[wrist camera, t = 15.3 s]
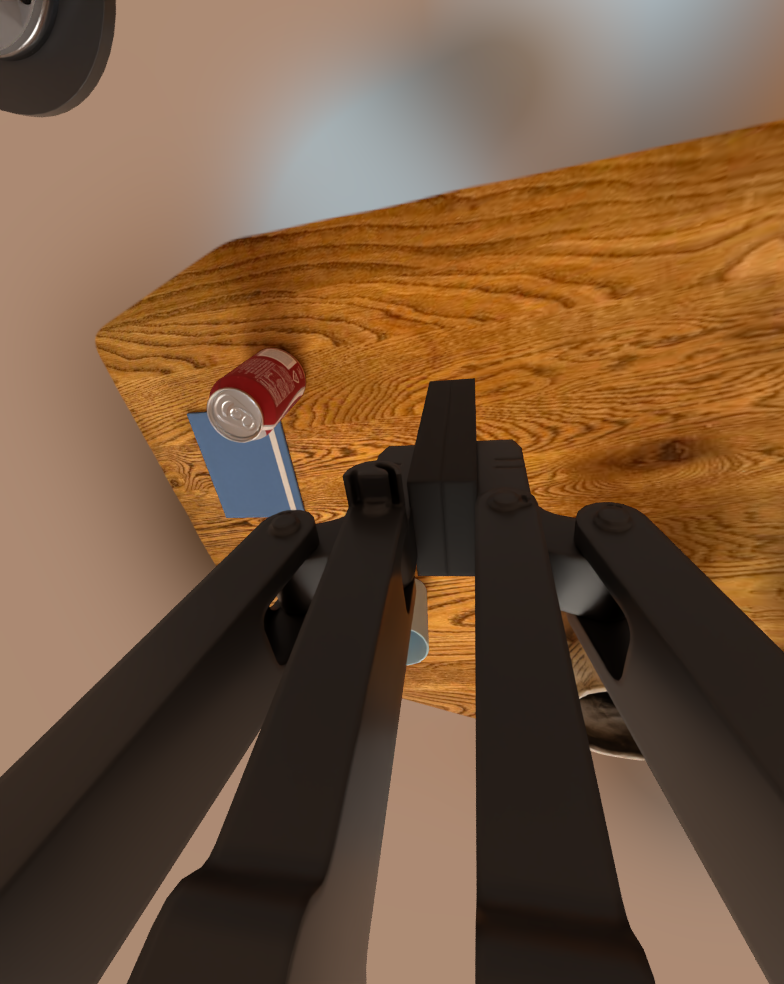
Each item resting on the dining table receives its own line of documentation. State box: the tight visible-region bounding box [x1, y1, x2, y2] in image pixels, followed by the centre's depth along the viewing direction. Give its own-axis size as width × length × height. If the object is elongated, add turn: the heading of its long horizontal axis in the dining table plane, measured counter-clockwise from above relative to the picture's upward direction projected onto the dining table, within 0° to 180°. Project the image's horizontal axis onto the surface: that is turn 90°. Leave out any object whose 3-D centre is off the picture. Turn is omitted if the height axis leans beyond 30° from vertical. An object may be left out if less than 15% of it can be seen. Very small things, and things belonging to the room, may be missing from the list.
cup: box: [406, 579, 429, 665], centre depth 64 cm, size 8×8×10 cm
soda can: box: [207, 348, 306, 443], centre depth 48 cm, size 7×7×12 cm
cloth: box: [187, 412, 305, 518], centre depth 60 cm, size 16×12×1 cm
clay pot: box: [561, 611, 646, 761], centre depth 55 cm, size 21×21×20 cm
